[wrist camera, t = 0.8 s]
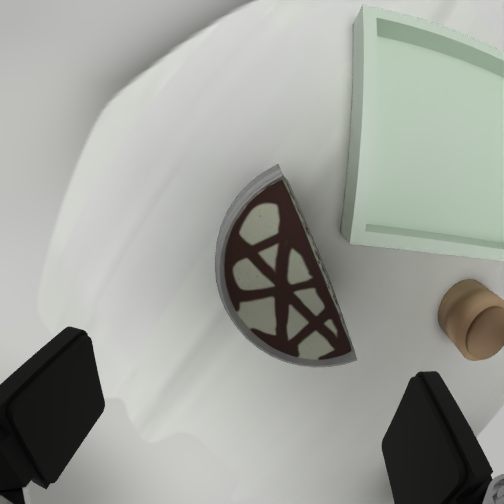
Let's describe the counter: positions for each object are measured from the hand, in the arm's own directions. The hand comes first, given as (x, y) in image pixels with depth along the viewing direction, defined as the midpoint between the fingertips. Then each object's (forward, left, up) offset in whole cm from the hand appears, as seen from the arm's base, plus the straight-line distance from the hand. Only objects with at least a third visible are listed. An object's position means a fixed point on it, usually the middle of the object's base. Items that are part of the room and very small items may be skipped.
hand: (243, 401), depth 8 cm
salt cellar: (-5, -19, -19) cm, 27 cm away
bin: (+10, -14, -19) cm, 26 cm away
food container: (-1, 0, -19) cm, 19 cm away
